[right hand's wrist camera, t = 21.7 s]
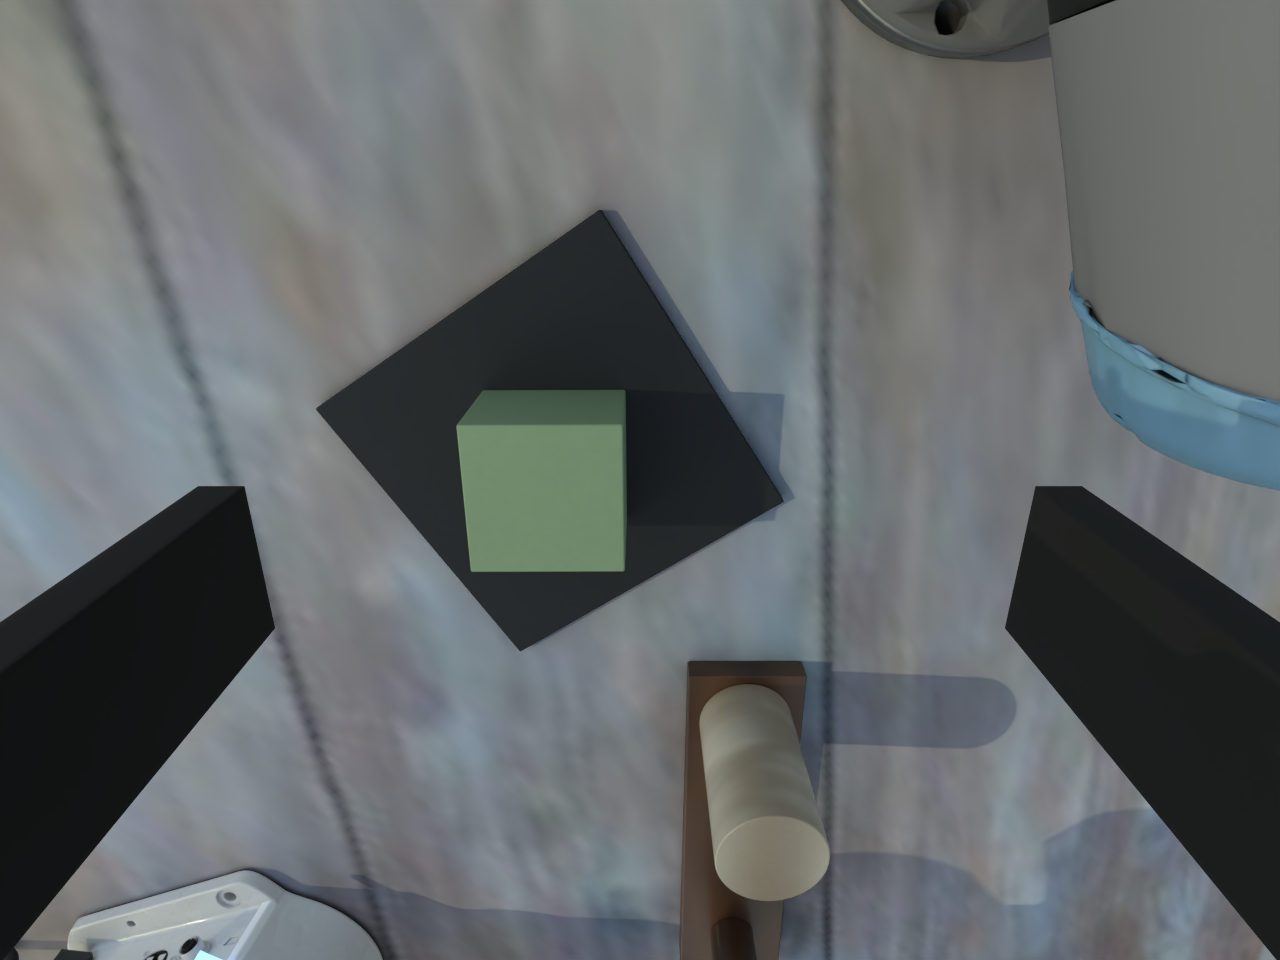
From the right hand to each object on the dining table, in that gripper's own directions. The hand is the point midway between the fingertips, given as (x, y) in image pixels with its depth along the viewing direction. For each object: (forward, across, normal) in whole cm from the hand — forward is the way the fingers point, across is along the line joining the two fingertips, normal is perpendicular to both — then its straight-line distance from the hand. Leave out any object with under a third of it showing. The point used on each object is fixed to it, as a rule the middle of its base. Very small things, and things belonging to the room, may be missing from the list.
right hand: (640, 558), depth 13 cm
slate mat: (+27, -4, -8) cm, 28 cm away
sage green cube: (+26, -4, -8) cm, 28 cm away
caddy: (+27, +6, -34) cm, 43 cm away
